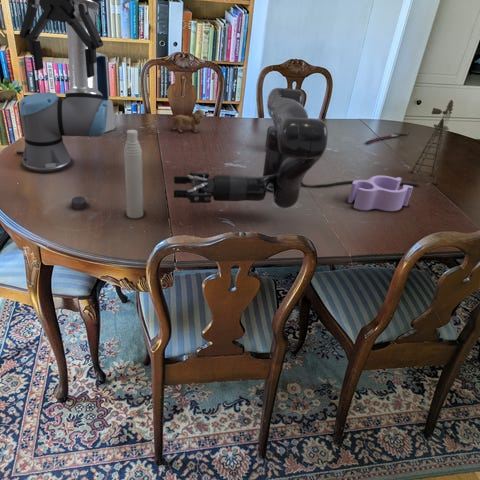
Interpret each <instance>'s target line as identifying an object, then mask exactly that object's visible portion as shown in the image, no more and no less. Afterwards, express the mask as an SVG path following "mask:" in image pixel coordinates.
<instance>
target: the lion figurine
mask: <svg viewBox="0 0 480 480" xmlns="http://www.w3.org/2000/svg"><path fill="white" fill-rule="evenodd" d="M204 116H205V112H204V110H202V109H199V108H198V109H196V110H195V111H194V112H193V113H191V114H190V115H183V114H178V115H175V117H174V118H173V119H172V124H171V127H170V128H169V131H172V130H176V129H177V130H178V132H179V133H183V130H182V129H181V127H182V124H184V125H186V126H190V129H191V131H193V133H197V132H198V131H197V130H196V129H197V125H200V124H201V123H202V122H203V120H204V118H205V117H204ZM176 126H177V128H176Z"/></svg>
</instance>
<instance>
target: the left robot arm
mask: <svg viewBox="0 0 480 480" xmlns="http://www.w3.org/2000/svg"><path fill="white" fill-rule="evenodd" d="M102 2H104V0H26V5H27V8H26V11H25V14H24V18H23V21H22V24H21V27H20V30H19V35H18V36H19V38H21V39H24V40H26V41H27V42H28V47H29V48H28V49H29V54H30V56H33V64H34V71H36V72H37V71H42V70H43V69H44V67H45V66H44V61H43V52H42V46H41V45H42V44H41V41H40V40H38V38H39V36H40V35H41V33H42V32H43V31H44V29H45V28H46V26H47V25H48V23H49V22H50V21H51V22H60V23H66V34H67V37H66V38H67V55H68V75H69V76H68V77H69V89H67V91H65V94H64V95H65V98H64V99H63V98H59V96H58V94H56V93H54V92H51V91H49V92H48V91H44V92H43V91H42V92H36V93H32V94H28V95H26V96H23V97H22V98H21V99H20V101H19V103H18V104H19V116H20V119H21V126H22V132H23V137H24V148H23V151H16V152H15V153H16V155H22V158H21V159H22V160H21V161H22V166H23V168H24V169H25V170H27V171H29V172H33V173H39V174H46V173H56V172H61V171H63V170H66V169H67V168H69V167H70V166H71V163H72V159H71V155H70V153H69V151H68V150H67V149H68V148H67V147H66V145H65V143H64V140H63V137H89V138H91V137H102V136H104V134H105V133H106V132H105V128H106V122H107V107H108V104H107V101H105V100H103V95H102V94H101V93H100V92H99V91H98V86H97V62H96V61H97V57H96V52H97V49H100V48H102V47H104V42H103V40H102V38H101V35H100V33H99V31H98V29H97V27H96V17H95V16H96V11H97V10H99V8H100V3H102ZM39 8H41V9H42V12H41V14H40V15H39V19H38V20H37V22H36V23H35V25H34V21H35V18H36V15H37V12H38V9H39ZM33 25H34V27H33Z"/></svg>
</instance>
